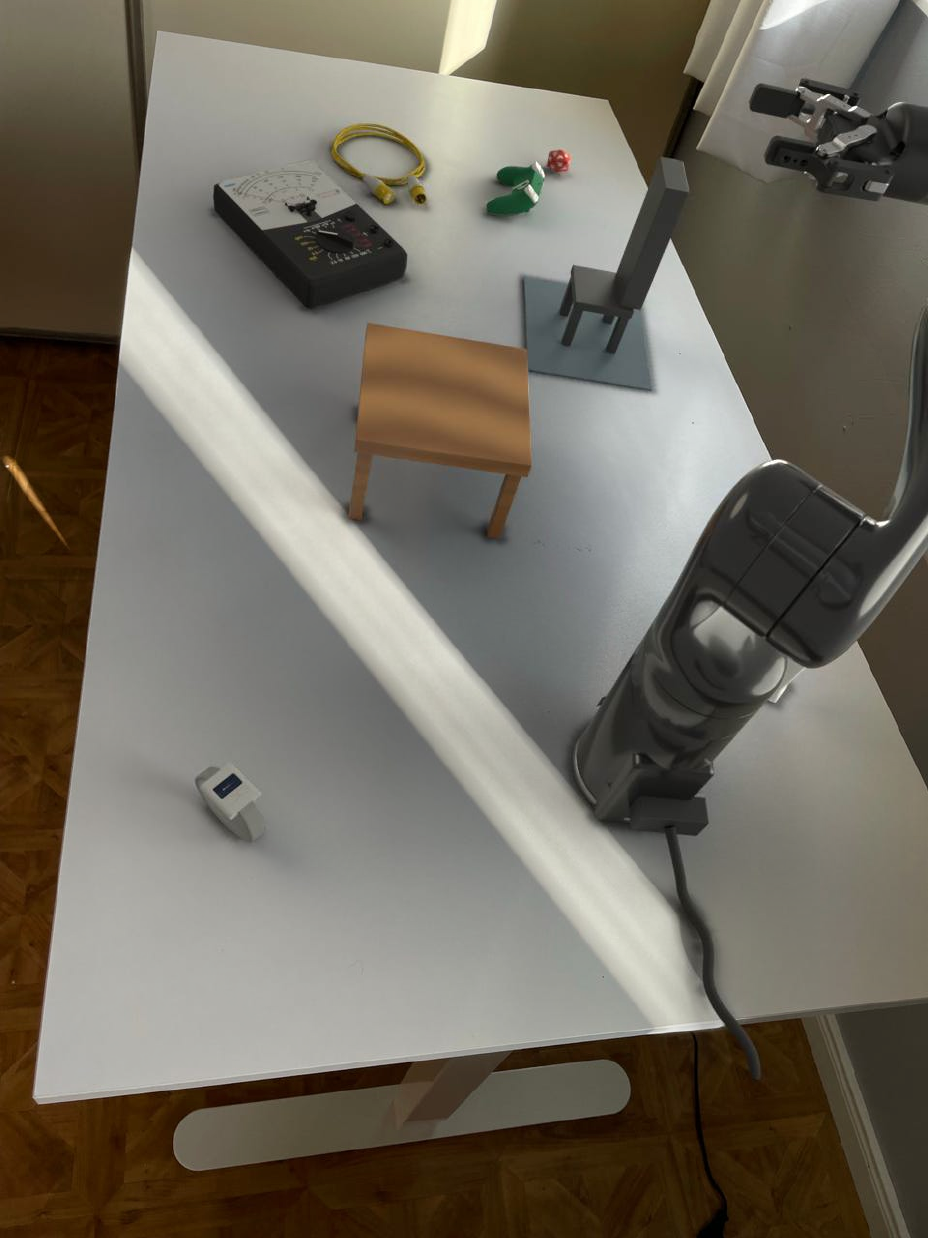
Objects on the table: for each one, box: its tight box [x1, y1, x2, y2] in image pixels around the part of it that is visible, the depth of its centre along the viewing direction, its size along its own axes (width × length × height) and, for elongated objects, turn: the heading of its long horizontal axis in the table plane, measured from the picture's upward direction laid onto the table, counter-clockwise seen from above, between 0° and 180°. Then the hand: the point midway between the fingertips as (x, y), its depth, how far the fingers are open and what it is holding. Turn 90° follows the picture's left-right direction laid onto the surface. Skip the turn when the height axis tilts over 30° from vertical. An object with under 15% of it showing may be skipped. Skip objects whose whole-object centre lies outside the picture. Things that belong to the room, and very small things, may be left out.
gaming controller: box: [485, 161, 545, 216], centre depth 124 cm, size 9×4×6 cm
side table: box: [347, 322, 533, 539], centre depth 92 cm, size 15×15×10 cm
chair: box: [560, 156, 690, 354], centre depth 105 cm, size 7×6×20 cm
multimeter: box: [212, 159, 408, 309], centre depth 110 cm, size 13×19×5 cm
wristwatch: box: [194, 762, 266, 843], centre depth 71 cm, size 6×3×5 cm, turn 48°
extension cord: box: [331, 122, 427, 206], centre depth 123 cm, size 12×16×2 cm
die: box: [546, 148, 572, 174], centre depth 130 cm, size 3×3×3 cm
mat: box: [523, 276, 653, 391], centre depth 113 cm, size 16×14×1 cm
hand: (760, 121), depth 86 cm, fingers open, 8 cm apart
